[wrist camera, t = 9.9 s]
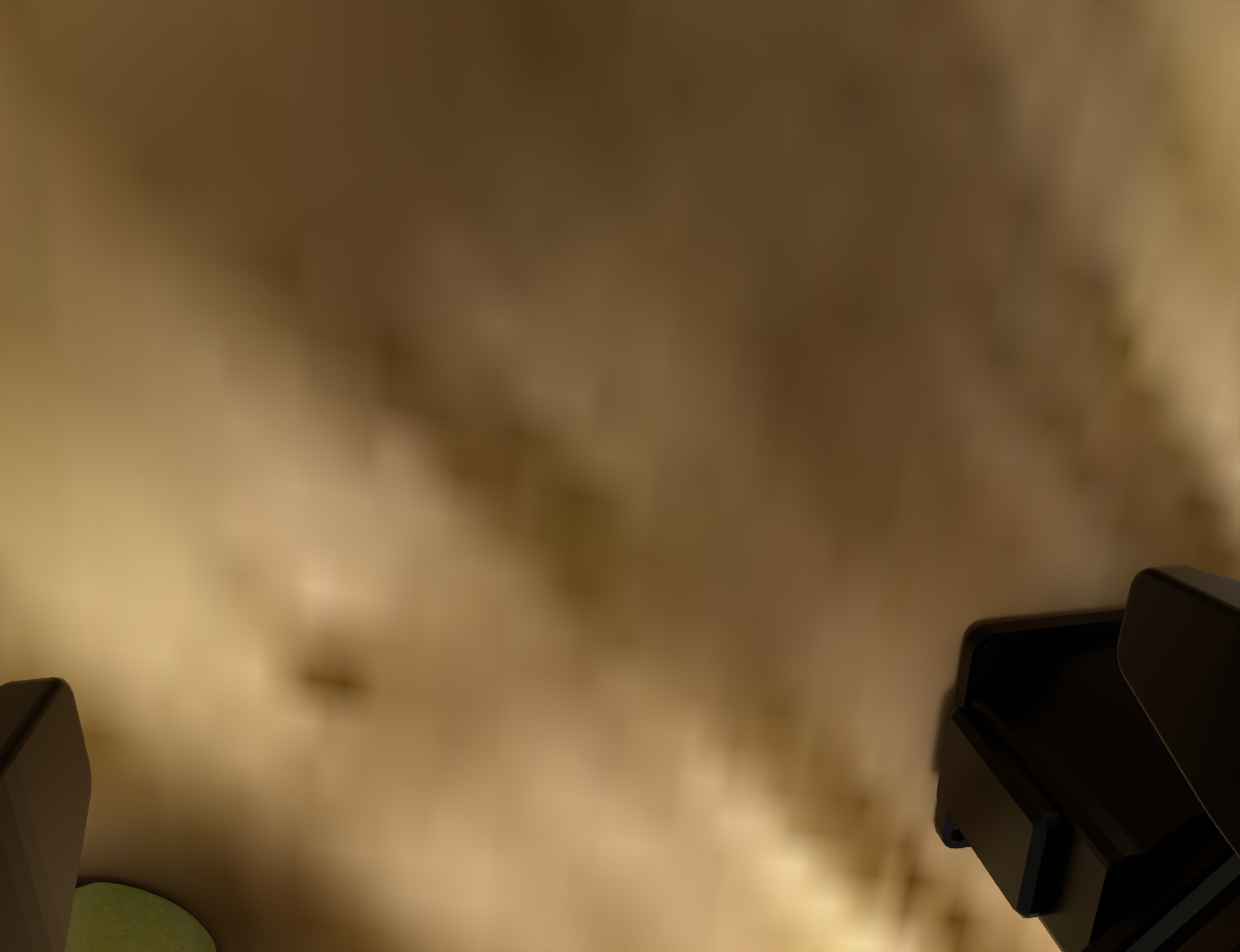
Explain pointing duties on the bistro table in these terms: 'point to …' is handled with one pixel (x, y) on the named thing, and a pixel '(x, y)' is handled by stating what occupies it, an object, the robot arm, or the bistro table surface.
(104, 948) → the plant pot
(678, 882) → the bistro table surface
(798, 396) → the bistro table surface
